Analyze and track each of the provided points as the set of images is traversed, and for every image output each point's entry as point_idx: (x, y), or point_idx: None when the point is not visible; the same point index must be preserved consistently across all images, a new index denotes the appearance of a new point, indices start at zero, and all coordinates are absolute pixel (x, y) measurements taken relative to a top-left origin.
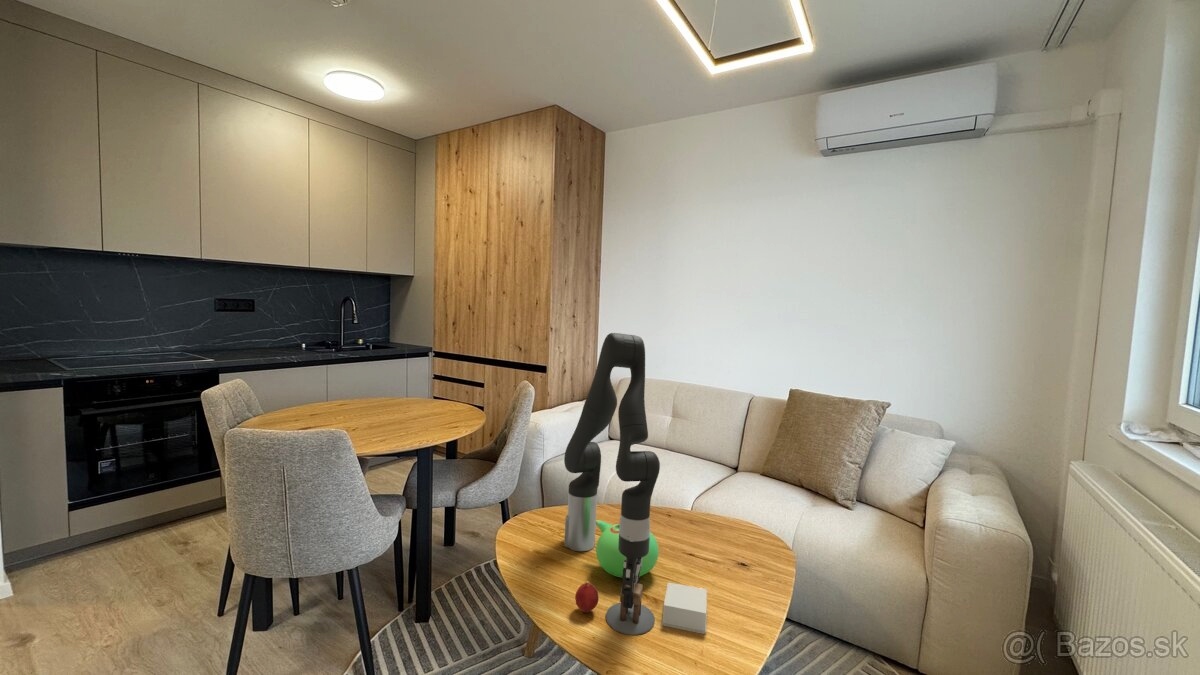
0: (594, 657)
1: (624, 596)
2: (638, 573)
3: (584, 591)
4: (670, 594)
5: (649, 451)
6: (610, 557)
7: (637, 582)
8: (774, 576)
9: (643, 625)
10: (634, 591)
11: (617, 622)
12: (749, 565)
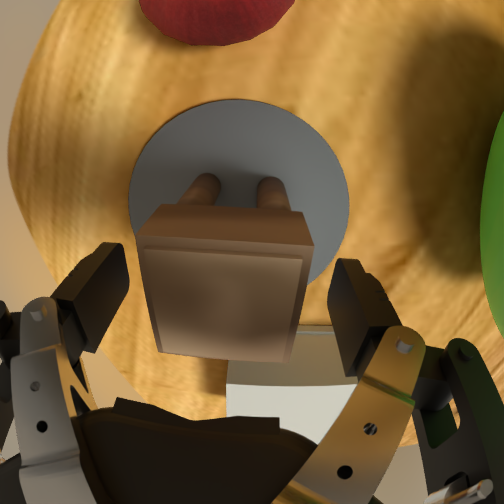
0: (15, 139)
1: (75, 280)
2: (356, 373)
3: None
4: (306, 395)
5: None
6: None
7: (333, 322)
8: (417, 438)
9: None
10: (175, 331)
11: (176, 166)
12: (454, 415)
